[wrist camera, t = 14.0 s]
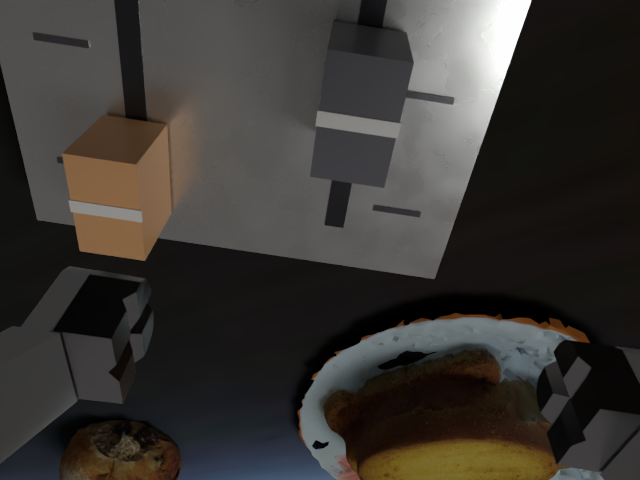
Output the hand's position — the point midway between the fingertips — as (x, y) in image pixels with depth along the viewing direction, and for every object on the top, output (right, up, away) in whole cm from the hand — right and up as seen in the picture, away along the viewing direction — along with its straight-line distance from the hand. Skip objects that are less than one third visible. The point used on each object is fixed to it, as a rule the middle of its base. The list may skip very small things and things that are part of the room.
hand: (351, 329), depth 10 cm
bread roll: (-18, -17, +36) cm, 44 cm away
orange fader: (-10, +5, +15) cm, 19 cm away
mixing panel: (-4, +11, +14) cm, 19 cm away
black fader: (+1, +8, +12) cm, 15 cm away
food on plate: (+11, -12, +30) cm, 34 cm away
